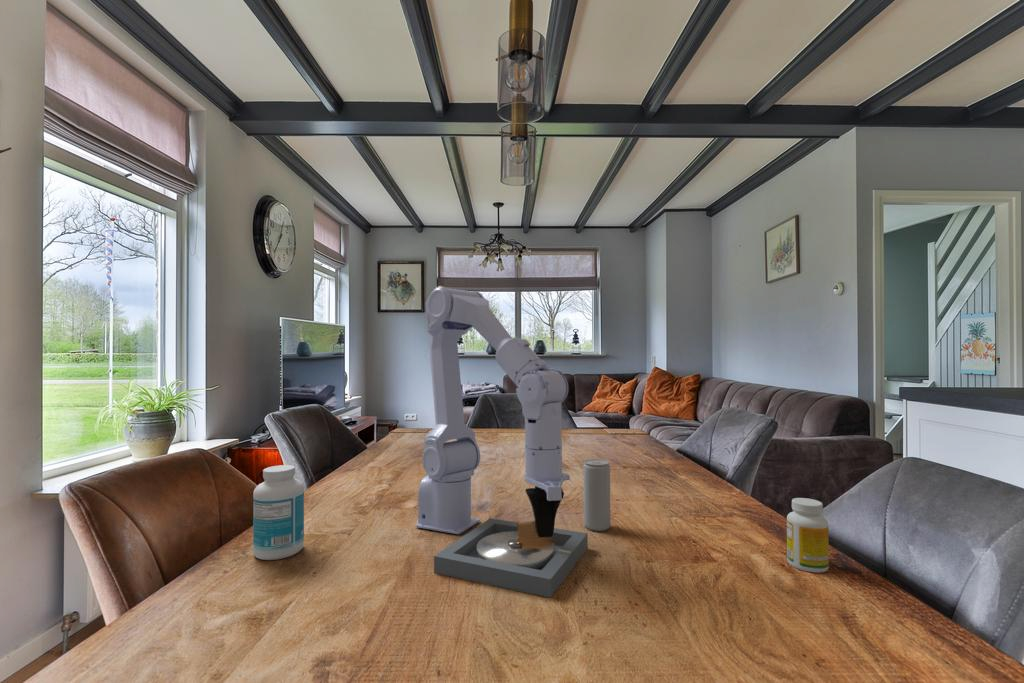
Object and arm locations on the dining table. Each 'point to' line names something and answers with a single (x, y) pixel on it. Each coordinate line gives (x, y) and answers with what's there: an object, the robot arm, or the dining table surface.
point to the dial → (518, 547)
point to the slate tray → (540, 581)
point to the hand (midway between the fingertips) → (544, 535)
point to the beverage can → (596, 494)
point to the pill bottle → (278, 514)
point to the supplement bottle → (807, 536)
